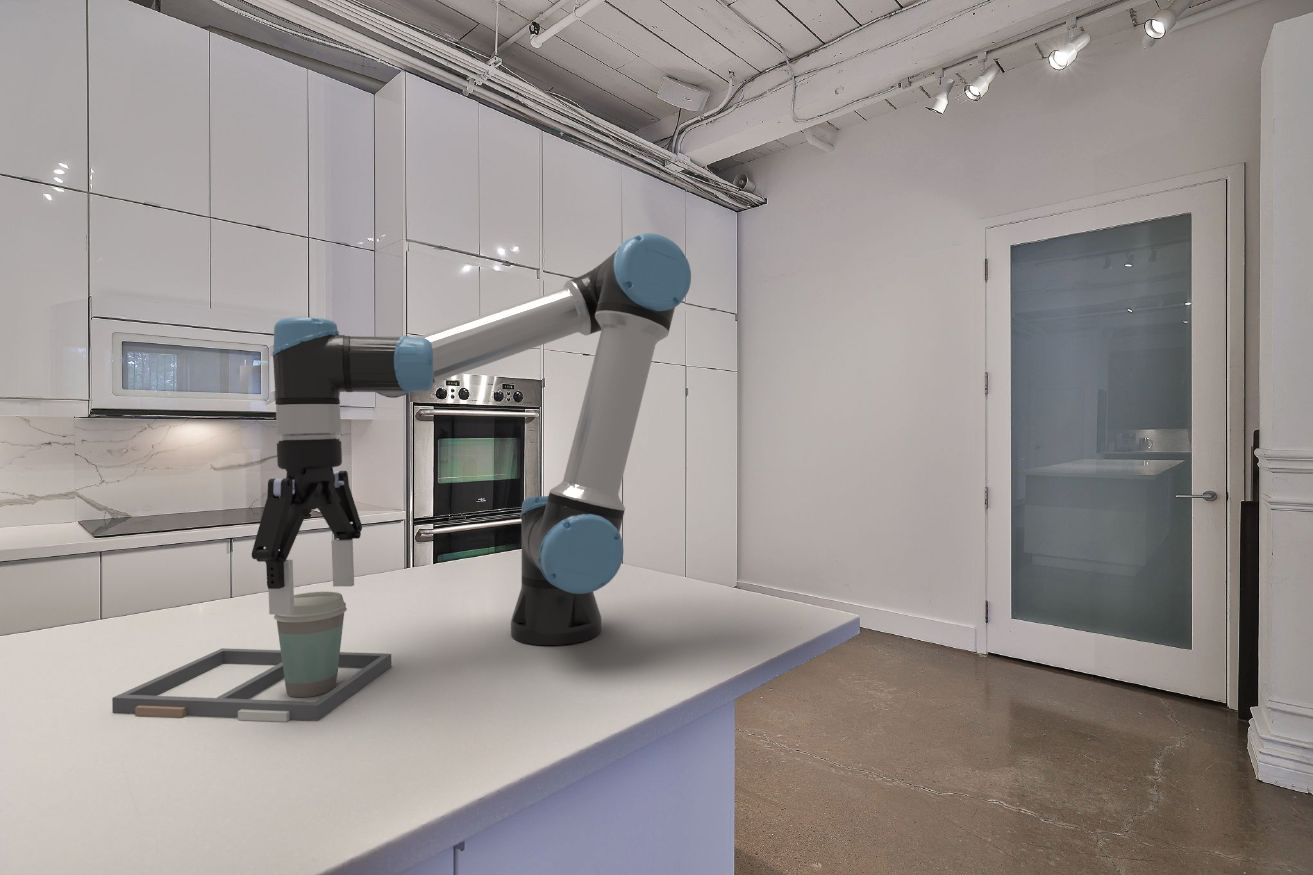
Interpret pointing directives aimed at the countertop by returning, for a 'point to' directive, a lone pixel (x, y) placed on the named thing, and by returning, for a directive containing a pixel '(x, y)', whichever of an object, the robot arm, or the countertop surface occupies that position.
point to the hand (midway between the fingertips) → (315, 598)
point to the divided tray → (246, 689)
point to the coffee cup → (311, 642)
